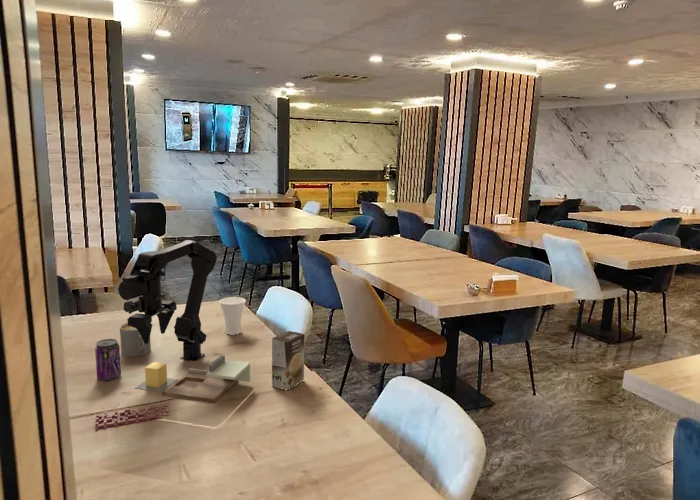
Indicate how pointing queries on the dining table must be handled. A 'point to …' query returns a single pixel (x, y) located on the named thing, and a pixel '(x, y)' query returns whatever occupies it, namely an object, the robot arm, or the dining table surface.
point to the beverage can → (107, 359)
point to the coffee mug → (132, 342)
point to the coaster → (160, 389)
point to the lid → (229, 369)
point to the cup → (232, 314)
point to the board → (199, 386)
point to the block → (156, 374)
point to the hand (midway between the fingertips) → (154, 338)
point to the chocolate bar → (129, 417)
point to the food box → (287, 359)
